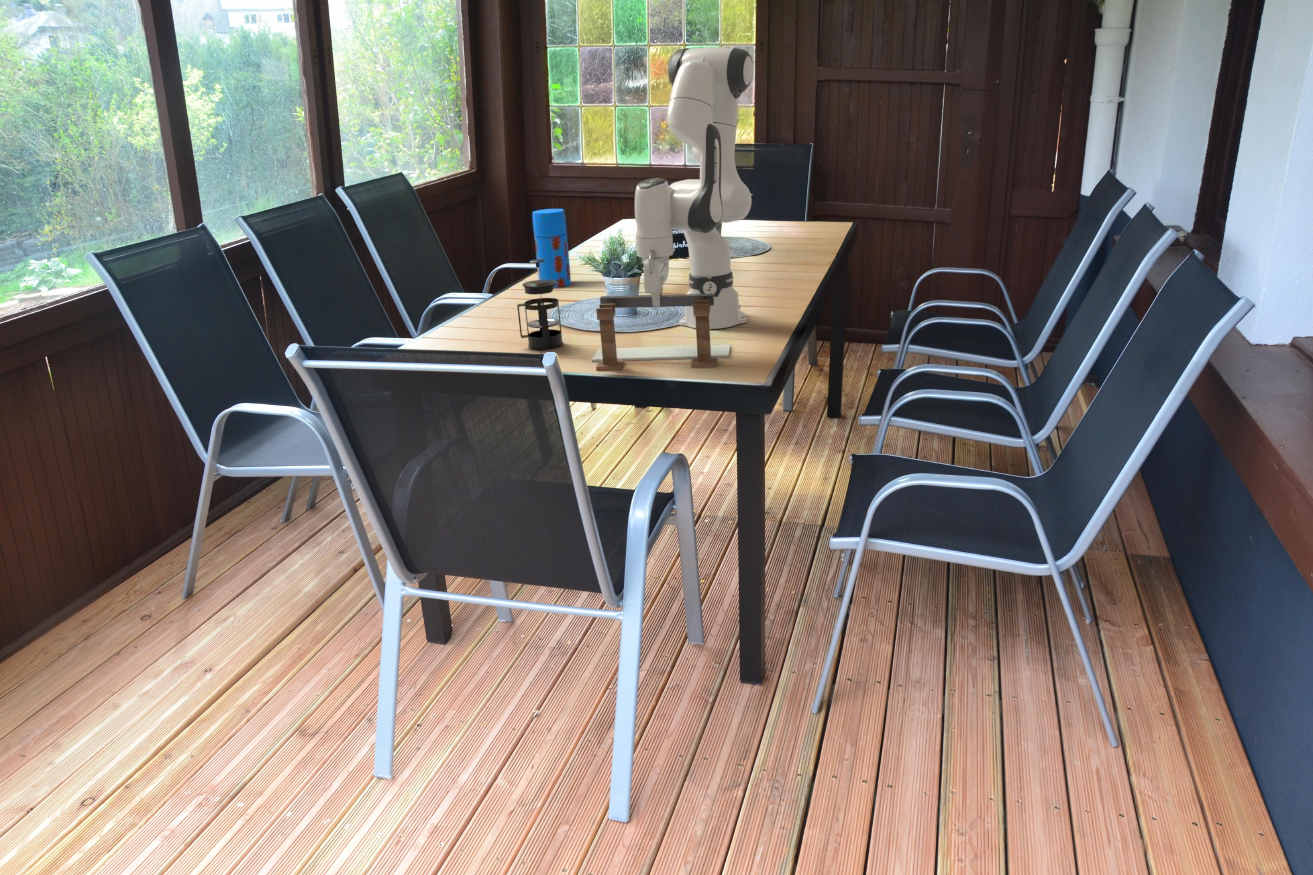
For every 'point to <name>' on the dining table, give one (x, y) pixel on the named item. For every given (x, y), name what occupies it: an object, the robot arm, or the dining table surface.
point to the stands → (612, 363)
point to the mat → (663, 353)
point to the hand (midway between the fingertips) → (657, 304)
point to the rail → (664, 300)
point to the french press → (541, 314)
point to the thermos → (552, 246)
